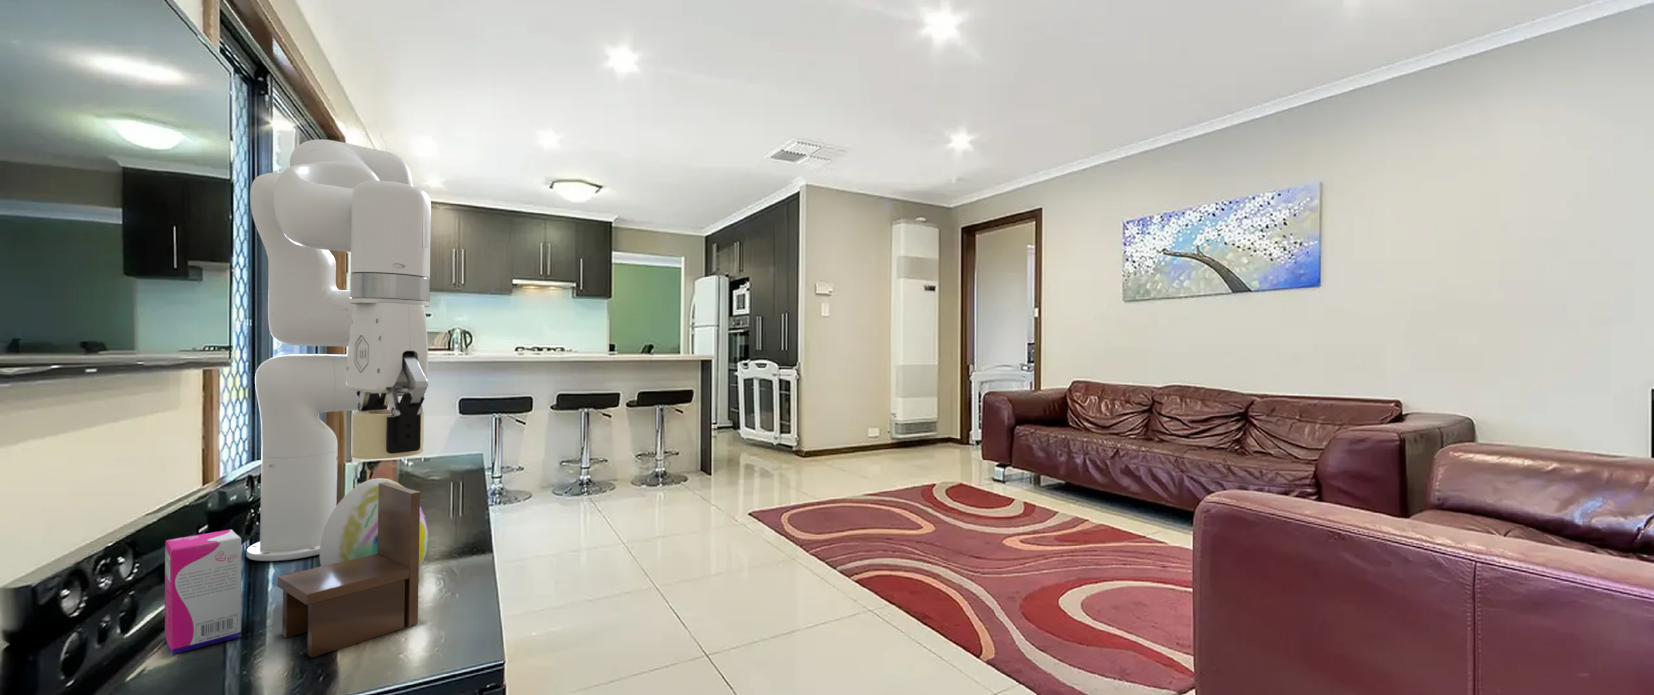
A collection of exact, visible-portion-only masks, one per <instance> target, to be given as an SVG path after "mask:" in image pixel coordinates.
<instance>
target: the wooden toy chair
mask: <svg viewBox="0 0 1654 695" xmlns="http://www.w3.org/2000/svg"><path fill="white" fill-rule="evenodd" d="M402 486H403V485H402ZM402 486H398V485H395V484H392V483H388V482H384V483H379V495H378V551H377V554H374V555H370V556H365V557H361V558H357V559H352V560H348V561H343V562H339V563H335V564H330V565H326V566H321V565H320V566H317V567H313V568H309V569H304V570H300V571H295V572H290V573H286V574H283V575H279V576H277V587H278V588H280V590H282V628H281V629H282V631H281V632H282V634H281V635H282V636H283V638H285V639H287V638H291V637H294V636H297V635H298V636H299V635H302V634H304V633H307V656H308V657H310V658H311V659H312V658H313V659H314V658H315V657H319V656H321V655H324V654H328V653H331V652H335V651H337V650H341V649H343V648H347V647H349V646H353V645H356V644H359V643H361V642H365V641H368V640H372V639H375V638H378V637H380V636H384V635H387V634H390V633H393V632H396V631H399V630H402V629H404V628H405V625H406V626H407V627H411V626H415V625H418V623H419V584H420V583H419V581H420V580H419V578H420V576H419V574H420V569H419V528H420V507H421V492H420V491H418V490H415V489H413V488H412V489H411V488H408V487H405V486H403V487H402Z"/></svg>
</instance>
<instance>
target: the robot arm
mask: <svg viewBox="0 0 1654 695" xmlns="http://www.w3.org/2000/svg"><path fill="white" fill-rule="evenodd" d="M249 199H250V200H249V201H250V210H251V215H252V219H253V222H254V225H255V228H256V230H257V232H258V235H259V237H260V239H261V242H262V245H263V246H264V249H265V254H266V256H267V263H268V264H267V265H268V269H267V270H268V275H267V276H268V278H267V281H268V282H267V284H268V285H267V318H268V319H267V320H268V321H267V322H268V329H269V332H270V335H271V337H272V339H274V340H275V341H276V342H278V343H281V344H285V345H288V346H299V347H300V346H302V347H305V346H306V347H347V354H328V353H298V354H297V353H294V354H283V355H277V356H274V357H270V358H269V359H266V360H264V361H263V362H261V364H260V365H259V366H258V368H257V369H256V371H255V374H254V375H255V376H254V384H255V393H256V398H257V404H258V410H259V416H260V417H259V418H260V432H261V452H260V453H261V454H260V455H261V457H260V458H261V459H260V460H261V463H260V464H261V465H260V466H261V467H260V471H261V472H260V516H259V517H260V520H259V521H260V522H259V541H257V542H255V543H253V544H252V545H250V546H249V547H248V548H246V553H245V554H246V558H248V559H249V560H252V561H257V562H279V561H292V560H297V559H298V560H299V559H304V558H310V557H315V556H320V544H321V539H322V535H323V531H324V529H325V526H326V524H327V521H328V519H329V517H330V515H331V514H332V512H333V510H334V509H335V508H336V506H337V504H338V503H337V502H338V501H337V499H338V497H337V496H338V447H339V446H338V444H339V443H338V438H337V435H336V433H335V432H334V431H333V429H332V428H331V427H330V426H329V425H327V424H326V423H325V422H324V421H323V420H322V419H320V416H319V415H320V414H322V413H323V414H324V413H331V412H347V411H348V412H350V411H357V412H360V411H370V410H386V409H390V412H391V416H392V417H387V432H386V451H387V452H388V453H390V454H394V453H403V452H411V451H418V450H419V449H420V437H421V415H422V412H423V411H424V409H423V403H424V401H425V394H426V392H427V390H428V387H429V382H428V374H429V342H428V341H429V340H428V339H429V338H428V327H427V326H428V324H427V314H426V308H430V306H431V305H430V298H431V297H430V294H431V292H430V291H431V239H432V238H431V233H432V232H431V231H432V230H431V229H432V203H431V199H430V196H429V195H428V193H427V192H426V191H425V190H423V189H422V188H419V187H417V186H414V185H413V177H412V173H411V169H410V168H409V166H408V164H407V163H406V162H405V160H404V159H403V158H402V157H400V156H398V154H395V153H393V152H390V151H387V150H386V151H385V150H382V149H381V150H380V149H376V148H371V147H366V146H361V145H356V144H352V143H347V142H342V141H338V140H331V139H317V138H316V139H309V140H307V141H304V142H302V143H300V144H298V145H297V146H296V147H295V148H294V149H293V151H292V152H291V154H290V158H289V167H287V168H286V169H285V170H284V171H283V172H267V173H263V174H260V175H258V176H256V177H255V179H254V180H253V181H252V183H251V187H250V193H249ZM331 251H335V252H345V253H346V252H347V253H350V275H349V276H350V280H349V282H350V283H349V284H350V285H349V286H350V287H349V289H350V290H346V289H339V288H338V287H337V262H336V259H335V257H334V255H333V254H332V253H331ZM399 397H401V398H400V400H399Z"/></svg>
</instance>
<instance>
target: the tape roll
mask: <svg viewBox="0 0 1654 695" xmlns="http://www.w3.org/2000/svg"><path fill="white" fill-rule="evenodd" d="M387 417H392V416H391V412H390V408H387V409H386V410H370V411H360V412H359V411H355V412H352V413H351V434H350V436H351V440H350V442H351V444H350V446H351V448H350V455H351V456H350V458H353V459H359V460H380V459H385V460H386V459H396V458H397V459H398V458H405V457H411V456H416V455H420V454H422V453H424V440H425V439H424V436H425V435H424V434H425V411H424V410H423V412H422V415H421V437H420V449H419V450H418V451H411V452H403V453H394V454H390V453H388V452H387V451H386V432H387Z"/></svg>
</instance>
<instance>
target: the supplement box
mask: <svg viewBox="0 0 1654 695" xmlns="http://www.w3.org/2000/svg"><path fill="white" fill-rule="evenodd" d="M164 544H165V545H164V589H165V590H164V640H165V643H166V645H167V648H168V650H169V653H170V655H171V656H173V655H177V654H180V653H185V652H188V651H192V650H196V649H199V648H200V649H201V648H203V647H207V646H211V645H215V644H220V643H224V642H227V641H231V640H234V639H235V640H236V639H238V638H241V637H242V538H241V536H240V535H238V534H237V533H236V532H235V531H234V530H233V529H226V530H225V529H224V530H220V531H214V532H208V533H201V534H196V535H189V536H184V537H183V536H182V537H178V538H170V539H167V540H165V543H164Z"/></svg>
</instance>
